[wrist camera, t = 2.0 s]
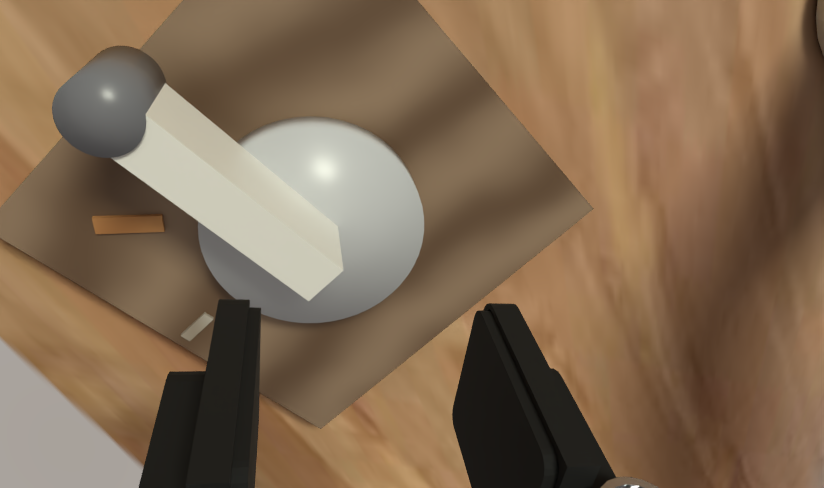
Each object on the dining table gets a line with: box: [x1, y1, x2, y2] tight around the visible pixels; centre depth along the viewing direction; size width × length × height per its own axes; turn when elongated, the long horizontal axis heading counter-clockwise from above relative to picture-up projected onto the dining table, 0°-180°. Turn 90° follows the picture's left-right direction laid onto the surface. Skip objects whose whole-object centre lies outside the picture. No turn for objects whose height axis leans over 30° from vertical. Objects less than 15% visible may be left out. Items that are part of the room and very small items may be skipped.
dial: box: [52, 46, 424, 323], centre depth 27 cm, size 18×11×6 cm, turn 42°
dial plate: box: [0, 0, 593, 429], centre depth 32 cm, size 22×22×2 cm
